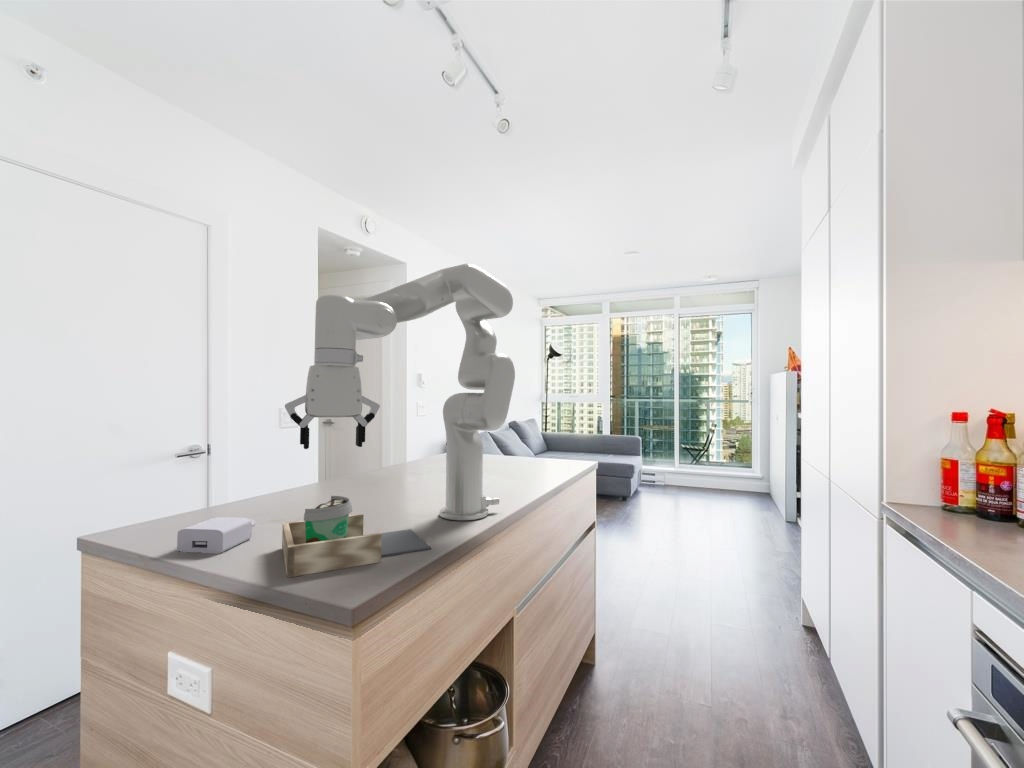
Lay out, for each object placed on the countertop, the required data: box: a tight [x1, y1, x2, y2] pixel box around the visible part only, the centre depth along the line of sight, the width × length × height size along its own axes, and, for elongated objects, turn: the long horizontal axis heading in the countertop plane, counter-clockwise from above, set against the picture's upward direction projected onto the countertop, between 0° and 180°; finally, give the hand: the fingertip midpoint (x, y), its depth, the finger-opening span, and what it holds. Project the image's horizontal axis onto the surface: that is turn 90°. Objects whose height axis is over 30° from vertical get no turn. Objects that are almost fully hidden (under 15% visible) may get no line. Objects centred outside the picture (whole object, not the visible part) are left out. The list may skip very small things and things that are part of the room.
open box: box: [281, 513, 382, 578], centre depth 87 cm, size 16×17×5 cm
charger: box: [176, 516, 256, 554], centre depth 95 cm, size 5×9×15 cm
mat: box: [380, 528, 432, 558], centre depth 94 cm, size 10×14×1 cm
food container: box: [303, 495, 353, 543], centre depth 87 cm, size 12×6×10 cm, turn 179°
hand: (333, 447), depth 88 cm, fingers open, 9 cm apart
